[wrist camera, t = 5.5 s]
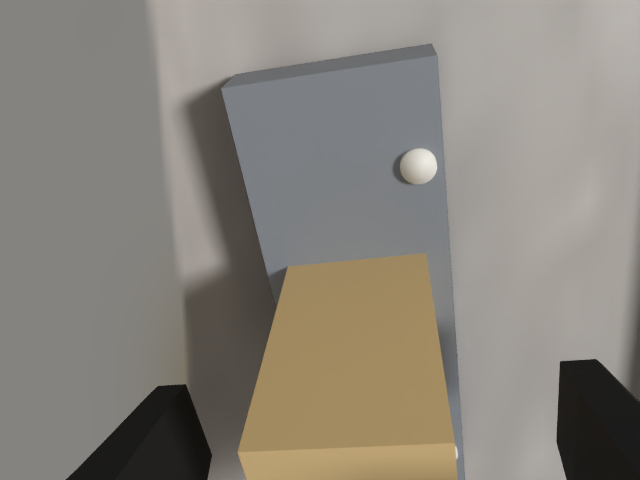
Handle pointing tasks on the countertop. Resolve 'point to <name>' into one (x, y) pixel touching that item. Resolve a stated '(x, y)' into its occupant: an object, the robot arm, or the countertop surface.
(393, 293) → the stub
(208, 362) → the countertop surface
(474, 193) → the countertop surface
